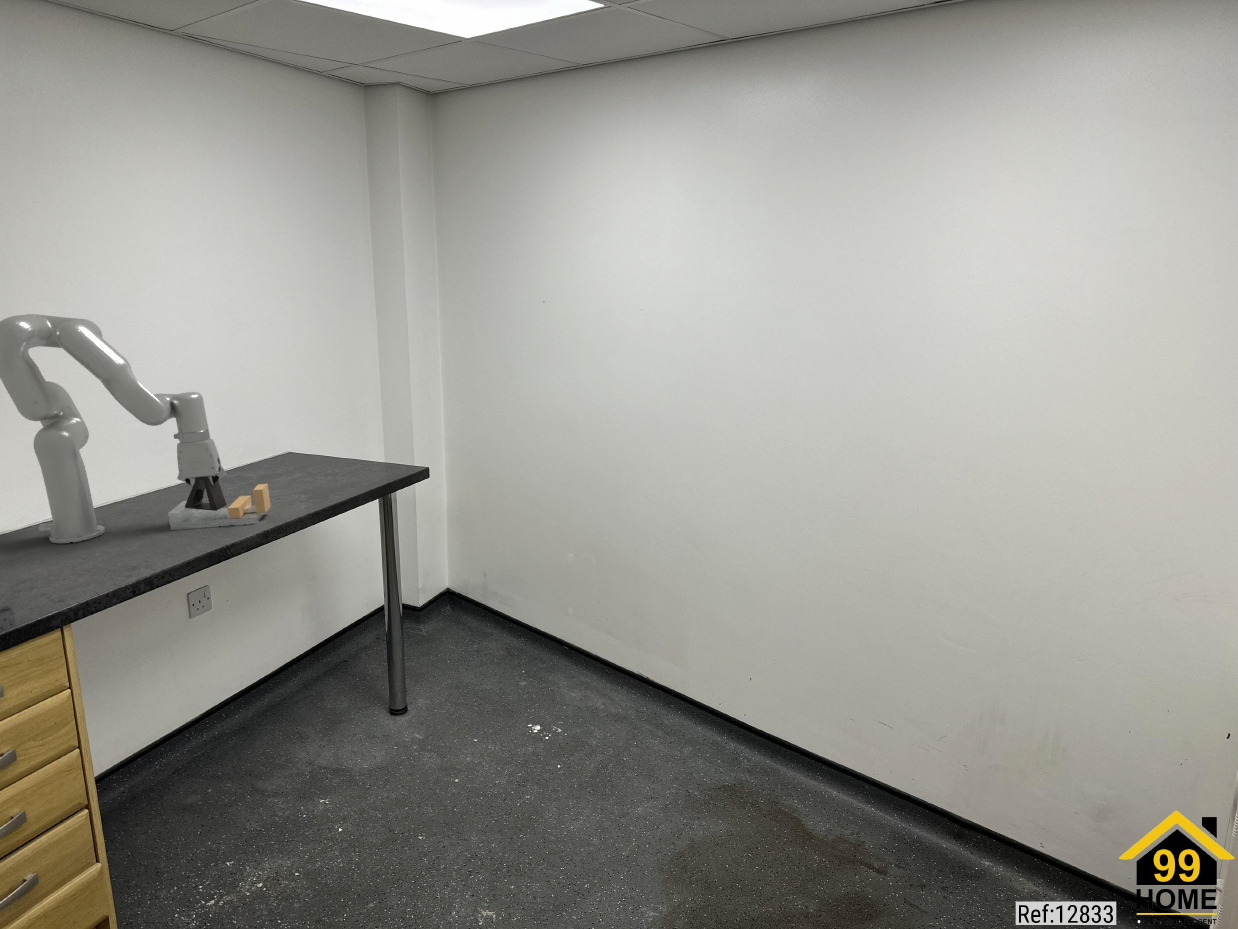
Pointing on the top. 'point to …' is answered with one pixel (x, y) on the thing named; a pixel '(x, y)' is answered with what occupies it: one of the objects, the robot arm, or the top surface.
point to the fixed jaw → (180, 513)
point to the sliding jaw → (245, 504)
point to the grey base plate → (215, 519)
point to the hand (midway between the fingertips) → (206, 498)
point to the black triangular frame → (213, 495)
